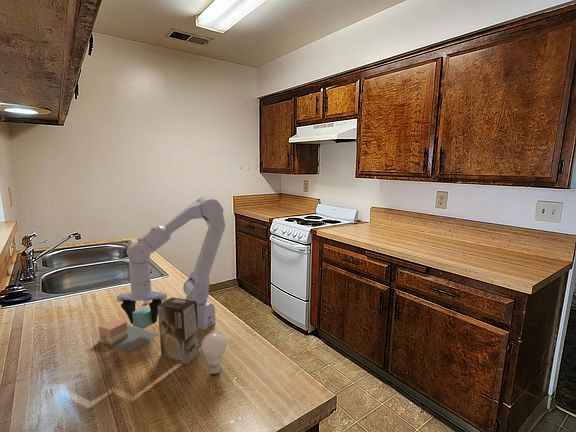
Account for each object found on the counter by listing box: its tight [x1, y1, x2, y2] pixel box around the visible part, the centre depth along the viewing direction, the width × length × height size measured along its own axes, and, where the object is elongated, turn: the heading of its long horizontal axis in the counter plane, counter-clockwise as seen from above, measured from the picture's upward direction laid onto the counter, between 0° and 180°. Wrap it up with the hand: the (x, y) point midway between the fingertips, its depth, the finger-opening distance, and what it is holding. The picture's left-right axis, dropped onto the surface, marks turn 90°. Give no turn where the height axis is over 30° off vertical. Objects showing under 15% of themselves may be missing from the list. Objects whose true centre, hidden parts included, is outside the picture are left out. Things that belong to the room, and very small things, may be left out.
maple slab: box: [98, 330, 128, 346], centre depth 99 cm, size 6×6×2 cm
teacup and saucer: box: [139, 300, 152, 305], centre depth 127 cm, size 9×8×4 cm
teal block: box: [132, 306, 155, 330], centre depth 100 cm, size 4×4×4 cm
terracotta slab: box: [98, 318, 128, 338], centre depth 99 cm, size 6×6×2 cm
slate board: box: [97, 324, 160, 353], centre depth 100 cm, size 14×11×1 cm
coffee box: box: [157, 296, 201, 365], centre depth 91 cm, size 9×6×16 cm
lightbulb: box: [200, 332, 227, 375], centre depth 84 cm, size 6×6×11 cm
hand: (144, 322), depth 101 cm, fingers closed on teal block, 6 cm apart
